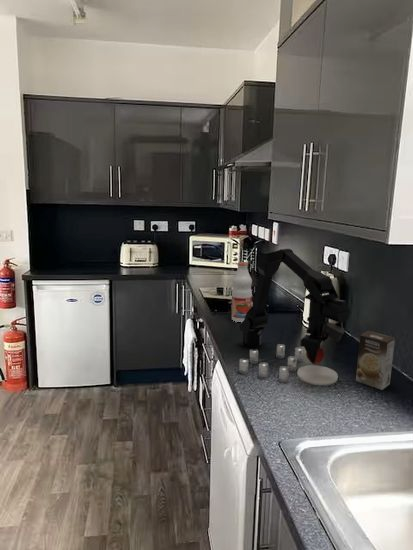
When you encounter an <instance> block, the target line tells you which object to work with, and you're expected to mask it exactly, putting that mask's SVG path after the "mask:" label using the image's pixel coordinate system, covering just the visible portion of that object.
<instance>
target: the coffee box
mask: <svg viewBox="0 0 413 550" xmlns="http://www.w3.org/2000/svg"><path fill="white" fill-rule="evenodd" d="M395 339H396V337H393V336H390V335H386V334H384V333H379V332H375V331H372V330H367V331H365V332H363V333H362V334H360V335H359V342H358V343H359V344H358V355H357V356H358V357H357V366H356V375H355V381H356V382H357V383H360V384H364V385H367V386H370V387H372V388H374V387H375V389H378V390H381V391H383V390H384V389H386V388H387V387H388V386H390V383H391V375H392V368H393V359H394V352H395V351H394V350H395V344H396V343H395V341H396V340H395Z"/></svg>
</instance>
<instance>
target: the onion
mask: <svg viewBox="0 0 413 550" xmlns="http://www.w3.org/2000/svg"><path fill="white" fill-rule="evenodd" d="M305 356H306V359H307V360H308V362H310V363H311V361H310V359H309V357H308V354H307V352H306V353H305ZM324 358H325V351H324V348H323V347H322V348H320V349H318V351H317V355H316V359H315V363H311V364H312V365H319V364H320V363H321V362H323V360H324Z"/></svg>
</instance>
